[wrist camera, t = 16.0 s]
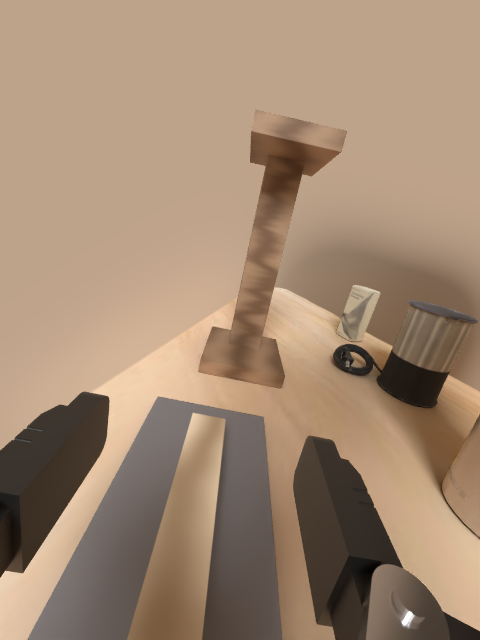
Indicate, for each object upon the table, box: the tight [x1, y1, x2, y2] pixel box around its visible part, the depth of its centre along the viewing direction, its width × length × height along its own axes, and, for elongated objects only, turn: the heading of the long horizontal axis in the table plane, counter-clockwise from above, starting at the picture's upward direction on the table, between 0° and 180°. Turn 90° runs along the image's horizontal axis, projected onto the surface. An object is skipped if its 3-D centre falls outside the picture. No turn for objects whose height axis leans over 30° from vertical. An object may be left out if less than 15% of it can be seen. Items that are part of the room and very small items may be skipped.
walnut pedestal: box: [198, 110, 347, 388], centre depth 42 cm, size 12×15×32 cm
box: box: [336, 285, 380, 341], centre depth 69 cm, size 5×4×13 cm
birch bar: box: [127, 413, 226, 640], centre depth 15 cm, size 3×24×3 cm, turn 178°
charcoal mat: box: [28, 397, 282, 640], centre depth 20 cm, size 12×26×1 cm, turn 178°
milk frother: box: [333, 301, 478, 407], centre depth 48 cm, size 14×16×15 cm
